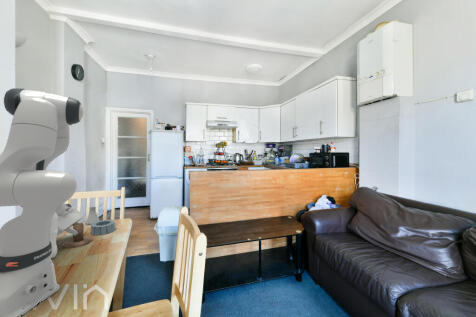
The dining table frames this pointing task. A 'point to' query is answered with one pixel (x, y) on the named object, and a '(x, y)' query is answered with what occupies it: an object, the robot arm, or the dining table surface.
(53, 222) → the water bottle
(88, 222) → the flask
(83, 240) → the walnut lid
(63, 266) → the dining table surface
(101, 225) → the slate-blue bowl
